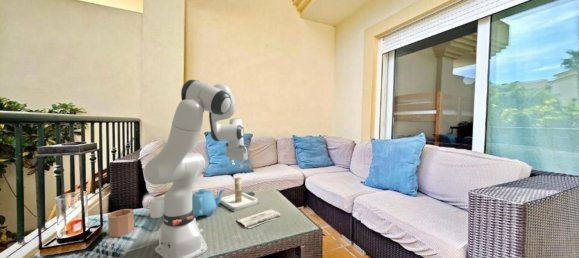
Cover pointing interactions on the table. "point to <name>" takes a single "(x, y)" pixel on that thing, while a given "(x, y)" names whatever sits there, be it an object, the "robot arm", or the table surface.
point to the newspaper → (259, 218)
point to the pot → (120, 222)
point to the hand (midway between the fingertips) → (236, 165)
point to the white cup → (156, 207)
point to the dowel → (238, 190)
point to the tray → (246, 202)
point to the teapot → (205, 202)
